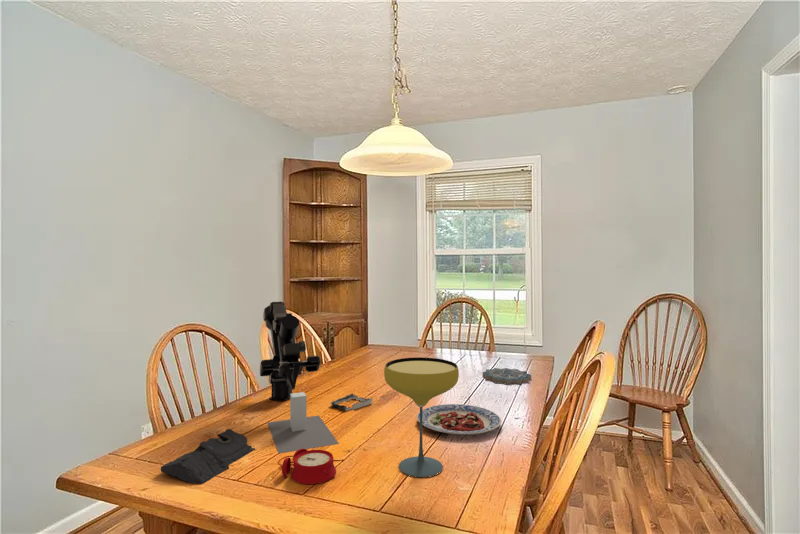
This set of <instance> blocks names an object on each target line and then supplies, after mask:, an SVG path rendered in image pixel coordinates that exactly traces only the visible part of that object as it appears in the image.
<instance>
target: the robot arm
mask: <svg viewBox="0 0 800 534" xmlns="http://www.w3.org/2000/svg"><path fill="white" fill-rule="evenodd" d="M269 303H270V304H269V305H268V306H266V307H264V310H263V315H262V317H263V321H264V323H265V327H266V328H267V329H268V330H269V331H270V336H271V344H272V351H273V352H272V353H273V357H272V359H271V358H270V359H262V360H261V361H260V364H259V376H260V377H268V383H269V384H270V385H271V396H270V397H269V398H268V399H269V401H270V400H271V401H281V402H286V401H287V400H290V394H291V393H293V390H296V385H297V380H298V377H299V376H301V375H302V372H303V369H304V368H305V371H306V372H308V373H312V372H313V373H314V372H318V371H319V369H320V366H321V358H320V356H318V355H309V356H307V357H306V360H299V359H301V353H305V352H306V349H307V347H306V341H305V340H302V341H301V340H300V341H298V342H296V341H297V340H296V337H297V335H298V329H299V327H300V319H298V317H297V316H295V315H293V313H292V312H289V313H288V312H287V307H286V306H285V303H284V302H283V301H272V302H269Z"/></svg>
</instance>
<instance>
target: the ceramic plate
mask: <svg viewBox="0 0 800 534" xmlns="http://www.w3.org/2000/svg"><path fill="white" fill-rule="evenodd" d="M416 418H417V419H416V420H417V421H418V423H419V424H420V411H419V412H418V413H417V415H416ZM501 424H502V419H501V417H500V415H498V414H497V413H496V412H494V411H492V410H489V409H487V408H485V407H480V406H476V405H470V404H462V403H459V404H458V403H450V404H449V403H448V404H447V403H445V404H438V405H432V406H429V407H426V408H424V409H423V408H422V427H423V426H424V427H425V428H427V429H430V430H432V431H435V432H440V433H444V434H451V435H479V434H484V433H487V432H491V431H493V430H497V428H499V426H500V425H501Z"/></svg>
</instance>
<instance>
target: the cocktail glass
mask: <svg viewBox="0 0 800 534" xmlns="http://www.w3.org/2000/svg"><path fill="white" fill-rule="evenodd" d="M383 373H384V374H383V375H384V377H383V378H384V381H385V382H386V383H387V385H388V386H389V387H390V388H391V389H392V390H394V391H396V392H397V393H400V394H402V395H404V396H406V397H408V398H410V399H411V400H412V401H413V402H414V404H415V405H416V406H417V407H418V408H419V412H420V423H419V443H418V444H419V445H418V446H419V449H418V456H417V455H416V456H411V457H407V458H404V459H403V460H401V461H400V462H399V464H398V469H399V471H400V470H401V471H402V472H403V474H404V473H405V474H404V475H406V474H407V475H406V476H408V475H410V476H409V477H412V476H416V477H415V478H418V477H427V478H430V477H429V476H432V477H434V476H433V475H436V474H437V473H439V472H441V471H442V472H443V470H444V465H443V463H442V462H441V461H439V460H438V459H436V458H433V457H428V456H424V452H423V451H424V449H423V448H424V447H423V425H422V410H423V408H425V406H426V405H428V403H429V401H430V400H432V399H433V398H436V397H437V396H438V397H439V396H440V395H442V394H445V393H447V392H449V391H451V389H453V388H454V387H455V386H456V385H457V383H458V382H459V377H460V376H459V375H460V371H459V367H458V365H457V364H456V363H455V362H453V361H450V360H447V359H443V358H437V357H421V356H420V357H419V356H418V357H405V358H404V357H403V358H397V359H393V360H390V361H388V362H386V364H385V365H384V369H383ZM442 469H443V470H442ZM401 471H400V472H401ZM402 472H401V473H402ZM442 472H441V473H442ZM439 474H440V473H439ZM436 476H437V475H436Z"/></svg>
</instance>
